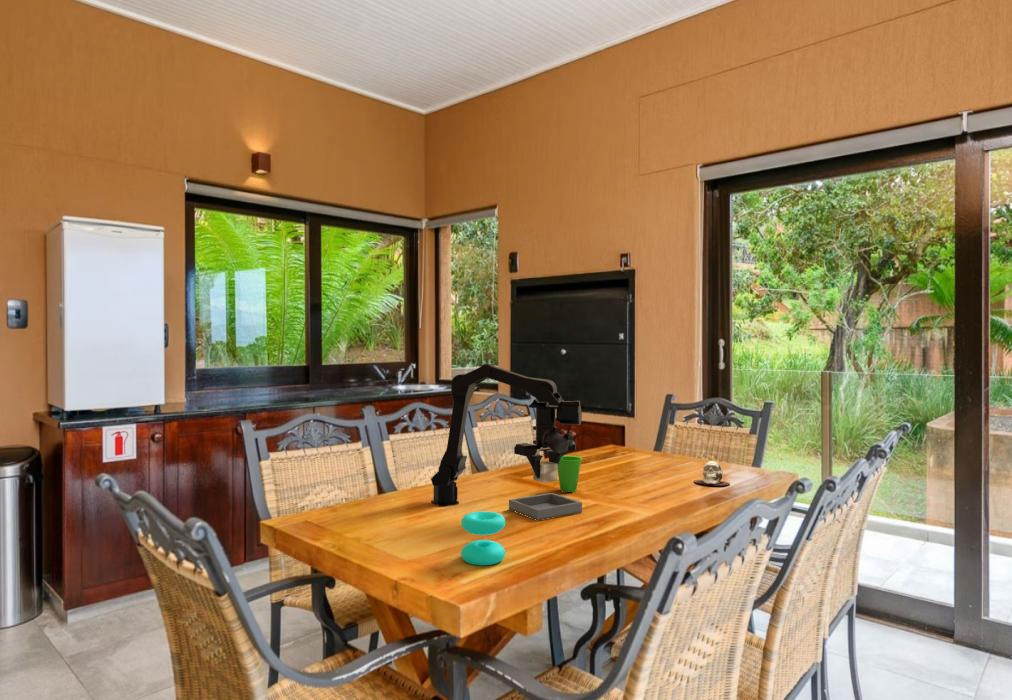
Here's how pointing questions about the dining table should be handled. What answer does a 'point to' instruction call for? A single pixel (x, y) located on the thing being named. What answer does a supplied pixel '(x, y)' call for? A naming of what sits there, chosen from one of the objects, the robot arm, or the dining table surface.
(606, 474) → the dining table surface
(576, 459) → the cup
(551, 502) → the tray
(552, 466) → the block
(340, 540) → the dining table surface
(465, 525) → the donuts
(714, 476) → the skull
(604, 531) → the dining table surface
